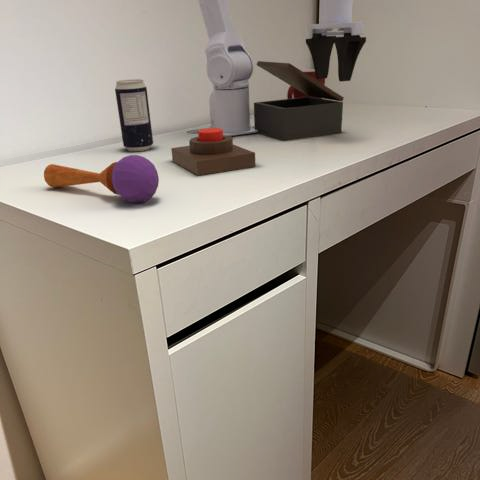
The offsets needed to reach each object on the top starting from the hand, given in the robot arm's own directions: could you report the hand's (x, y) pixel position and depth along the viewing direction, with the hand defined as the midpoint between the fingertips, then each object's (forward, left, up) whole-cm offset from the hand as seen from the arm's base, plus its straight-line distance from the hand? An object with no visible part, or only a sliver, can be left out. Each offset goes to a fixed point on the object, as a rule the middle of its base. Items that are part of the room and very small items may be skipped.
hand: (332, 79), depth 95 cm
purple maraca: (+15, -49, -10) cm, 52 cm away
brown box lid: (-9, -2, -1) cm, 9 cm away
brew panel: (+7, -28, -10) cm, 31 cm away
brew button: (+7, -28, -7) cm, 30 cm away
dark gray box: (-9, -2, -10) cm, 14 cm away
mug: (-27, +11, -10) cm, 31 cm away
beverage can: (-13, -35, -10) cm, 39 cm away
